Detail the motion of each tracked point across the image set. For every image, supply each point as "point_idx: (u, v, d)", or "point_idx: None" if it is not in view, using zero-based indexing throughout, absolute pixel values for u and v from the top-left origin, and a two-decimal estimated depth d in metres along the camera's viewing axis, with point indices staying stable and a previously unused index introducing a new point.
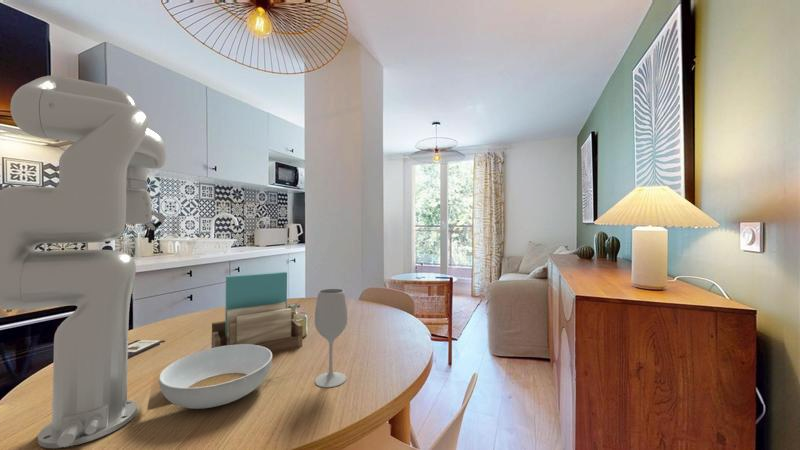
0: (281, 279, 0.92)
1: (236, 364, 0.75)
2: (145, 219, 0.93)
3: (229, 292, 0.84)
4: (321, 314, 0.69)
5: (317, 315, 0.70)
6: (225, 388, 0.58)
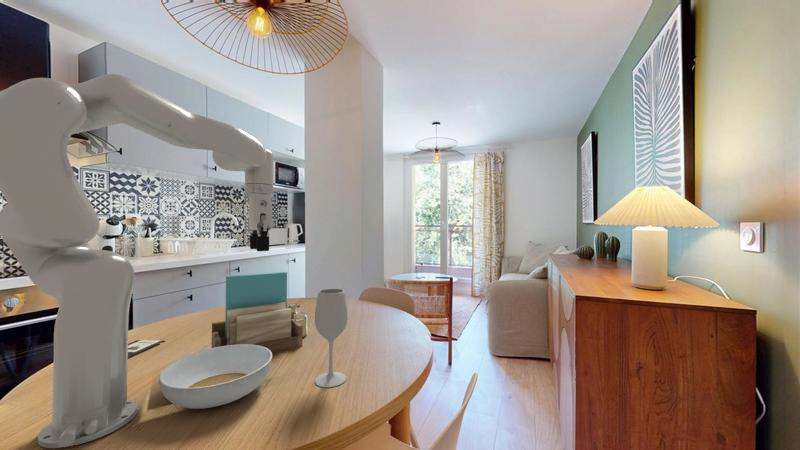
0: (281, 279, 0.92)
1: (236, 364, 0.75)
2: None
3: (229, 292, 0.84)
4: (321, 314, 0.69)
5: (317, 315, 0.70)
6: (225, 388, 0.58)
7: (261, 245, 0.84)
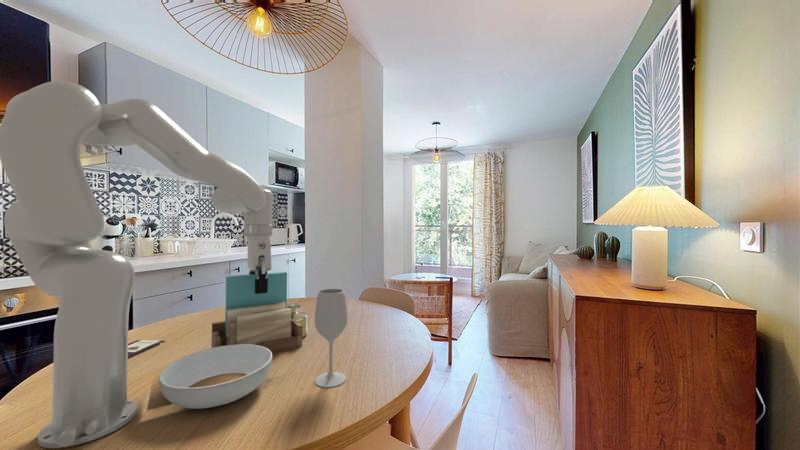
0: (281, 279, 0.92)
1: (236, 364, 0.75)
2: None
3: (229, 292, 0.84)
4: (321, 314, 0.69)
5: (317, 315, 0.70)
6: (225, 388, 0.58)
7: (259, 288, 0.84)
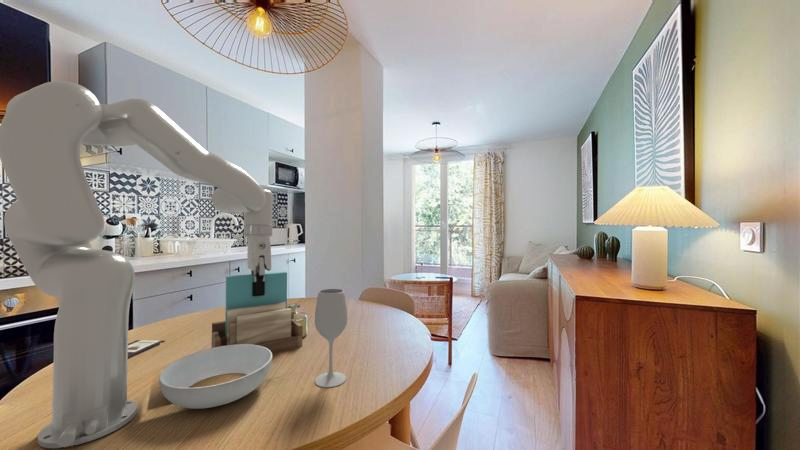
0: (281, 279, 0.92)
1: (236, 364, 0.75)
2: None
3: (229, 292, 0.84)
4: (321, 314, 0.69)
5: (317, 315, 0.70)
6: (225, 388, 0.58)
7: (257, 290, 0.87)
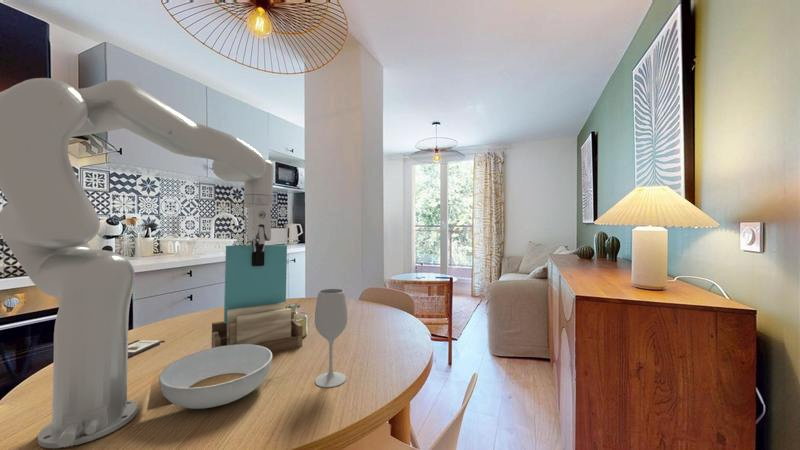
0: (281, 251, 0.92)
1: (236, 364, 0.75)
2: None
3: (229, 261, 0.84)
4: (321, 314, 0.69)
5: (317, 315, 0.70)
6: (225, 388, 0.58)
7: (256, 260, 0.86)
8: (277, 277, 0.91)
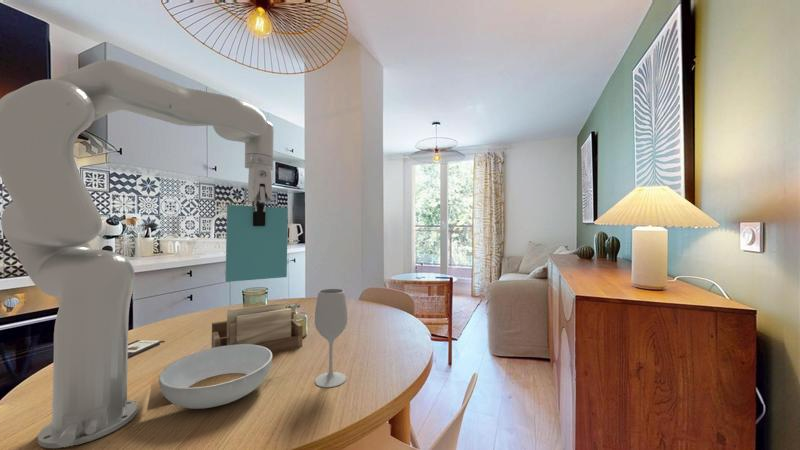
0: (282, 214, 0.92)
1: (236, 364, 0.75)
2: None
3: (230, 220, 0.84)
4: (321, 314, 0.69)
5: (317, 315, 0.70)
6: (225, 388, 0.58)
7: (257, 220, 0.87)
8: (278, 239, 0.91)
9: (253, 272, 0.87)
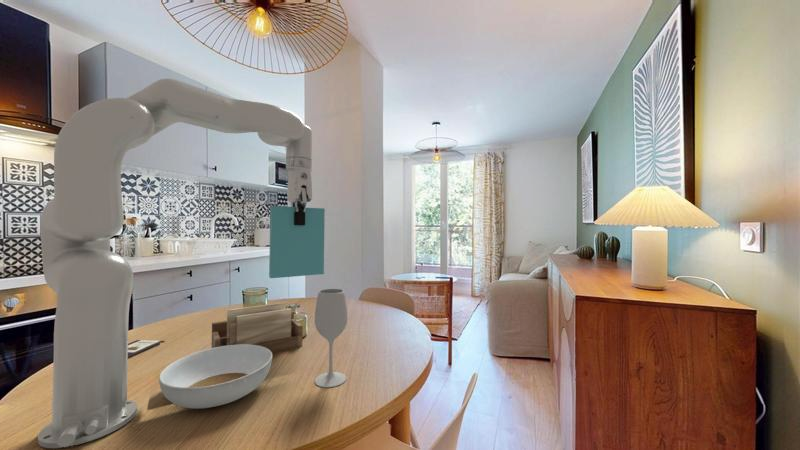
0: (319, 214, 0.97)
1: (236, 364, 0.75)
2: None
3: (274, 220, 0.89)
4: (321, 314, 0.69)
5: (317, 315, 0.70)
6: (225, 387, 0.58)
7: (298, 219, 0.92)
8: (316, 238, 0.96)
9: (294, 269, 0.92)
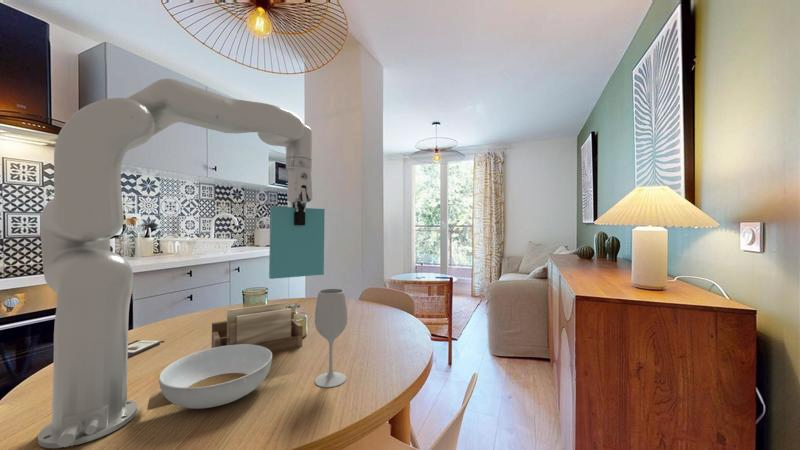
0: (319, 214, 0.97)
1: (236, 364, 0.75)
2: None
3: (274, 220, 0.89)
4: (321, 314, 0.69)
5: (317, 315, 0.70)
6: (225, 388, 0.58)
7: (298, 219, 0.92)
8: (316, 238, 0.96)
9: (294, 270, 0.92)
